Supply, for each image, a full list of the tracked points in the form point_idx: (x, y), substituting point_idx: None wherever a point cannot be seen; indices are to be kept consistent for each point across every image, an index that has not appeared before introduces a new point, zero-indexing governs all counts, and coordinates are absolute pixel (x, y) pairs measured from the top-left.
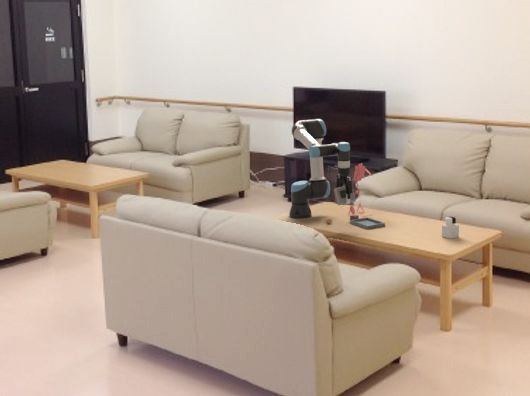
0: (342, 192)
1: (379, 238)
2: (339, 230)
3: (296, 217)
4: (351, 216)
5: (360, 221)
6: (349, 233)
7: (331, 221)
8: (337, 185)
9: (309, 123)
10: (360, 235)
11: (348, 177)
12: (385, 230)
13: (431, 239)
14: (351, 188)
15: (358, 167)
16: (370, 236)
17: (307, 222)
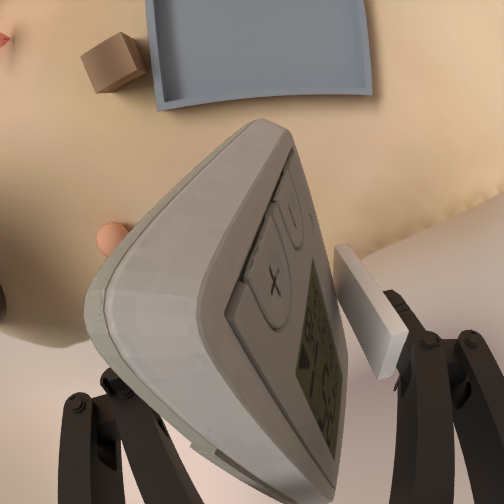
0: (328, 418)
1: (497, 161)
2: None
3: (3, 315)
4: (111, 85)
5: (173, 39)
6: (376, 226)
7: (124, 229)
8: (122, 489)
9: None
10: (431, 199)
11: None
12: (427, 39)
13: None
14: (500, 393)
15: None
16: (464, 172)
17: (70, 309)
